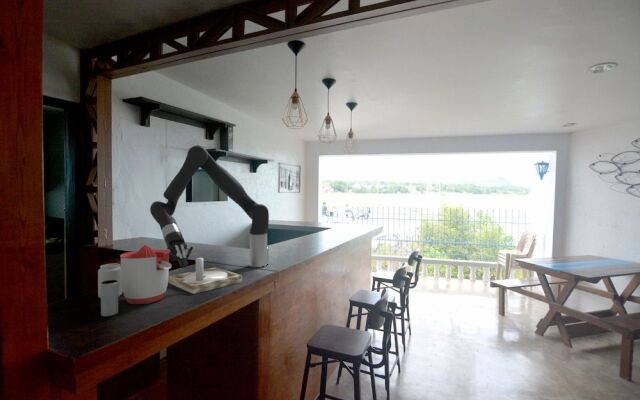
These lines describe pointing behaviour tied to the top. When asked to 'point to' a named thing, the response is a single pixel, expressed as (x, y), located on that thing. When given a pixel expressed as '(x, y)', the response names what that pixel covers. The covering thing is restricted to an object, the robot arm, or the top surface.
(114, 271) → the can
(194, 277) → the dial
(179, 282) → the dial housing
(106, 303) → the grey tall cylinder
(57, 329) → the top surface
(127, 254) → the citrus juicer
